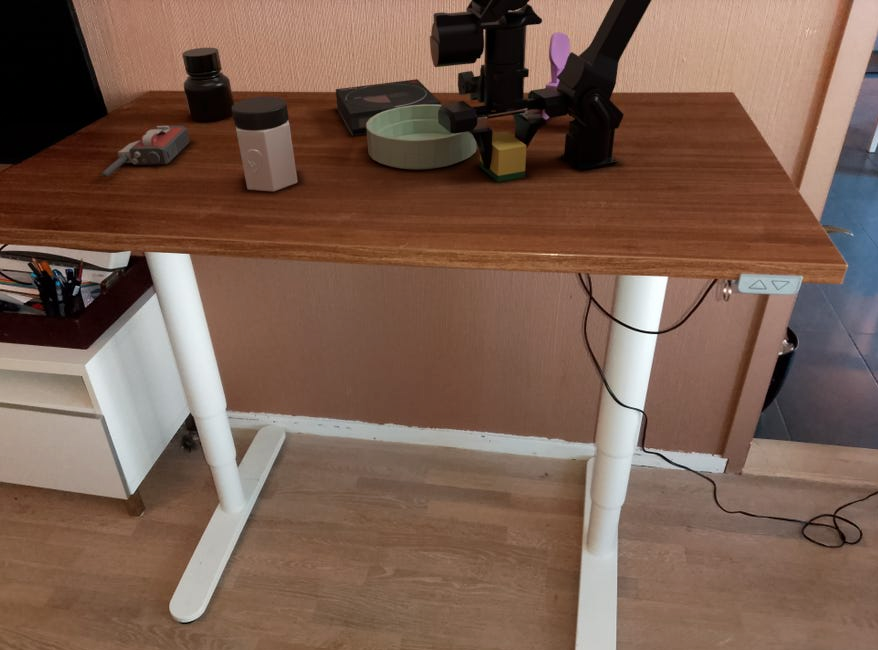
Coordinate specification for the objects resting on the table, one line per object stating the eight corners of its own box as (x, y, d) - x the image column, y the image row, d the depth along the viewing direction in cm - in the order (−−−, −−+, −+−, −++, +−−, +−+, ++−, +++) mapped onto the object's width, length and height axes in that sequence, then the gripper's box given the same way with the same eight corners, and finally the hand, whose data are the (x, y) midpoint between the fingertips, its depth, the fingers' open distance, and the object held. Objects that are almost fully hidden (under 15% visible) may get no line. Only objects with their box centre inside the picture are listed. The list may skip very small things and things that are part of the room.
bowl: (453, 127, 130) (453, 98, 127) (494, 160, 116) (495, 129, 113) (356, 142, 126) (353, 114, 123) (387, 179, 112) (384, 147, 109)
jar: (234, 189, 112) (218, 111, 105) (257, 170, 118) (244, 95, 111) (286, 193, 109) (274, 114, 102) (307, 173, 115) (297, 97, 108)
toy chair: (579, 135, 123) (588, 41, 114) (531, 128, 127) (536, 38, 118) (596, 120, 128) (606, 30, 120) (550, 115, 132) (555, 27, 124)
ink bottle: (216, 105, 149) (204, 44, 142) (246, 111, 145) (235, 48, 138) (179, 119, 143) (164, 55, 136) (209, 125, 138) (196, 60, 131)
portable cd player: (353, 137, 128) (351, 114, 126) (337, 109, 142) (335, 89, 140) (442, 125, 131) (441, 103, 129) (418, 99, 145) (417, 79, 142)
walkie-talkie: (149, 140, 133) (100, 183, 117) (143, 116, 130) (91, 156, 114) (194, 140, 132) (151, 182, 116) (189, 115, 129) (144, 156, 113)
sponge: (505, 162, 115) (506, 131, 112) (525, 177, 109) (526, 145, 106) (479, 166, 114) (479, 135, 111) (497, 182, 108) (498, 150, 105)
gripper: (538, 40, 110) (532, 140, 119) (423, 56, 106) (427, 158, 115) (574, 55, 102) (565, 162, 111) (451, 73, 97) (452, 183, 107)
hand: (501, 166), depth 111 cm, fingers closed on sponge, 4 cm apart
